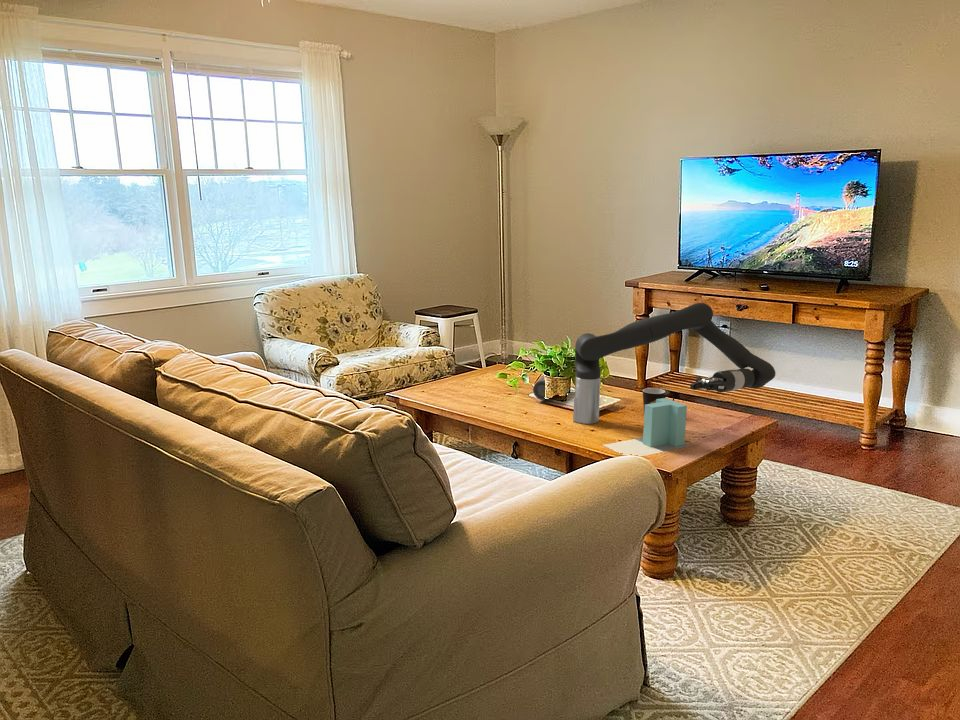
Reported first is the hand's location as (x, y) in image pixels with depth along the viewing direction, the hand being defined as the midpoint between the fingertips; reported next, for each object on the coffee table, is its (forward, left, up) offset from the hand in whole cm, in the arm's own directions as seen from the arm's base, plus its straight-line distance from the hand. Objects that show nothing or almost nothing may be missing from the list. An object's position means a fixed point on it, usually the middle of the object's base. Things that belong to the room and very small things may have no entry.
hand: (691, 386), depth 274 cm
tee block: (-9, -9, -19) cm, 23 cm away
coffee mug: (-13, +26, -20) cm, 35 cm away
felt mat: (-13, -13, -19) cm, 27 cm away
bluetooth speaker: (-58, +42, -20) cm, 74 cm away
